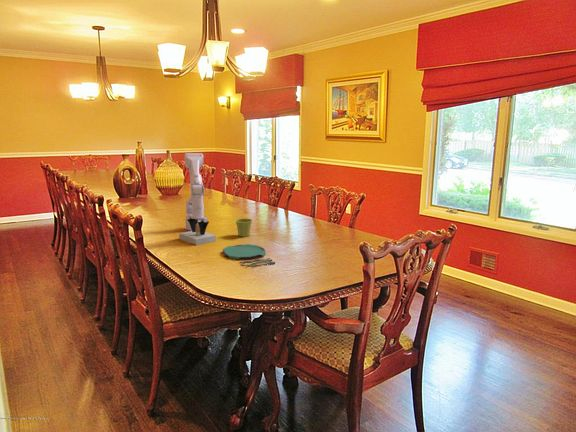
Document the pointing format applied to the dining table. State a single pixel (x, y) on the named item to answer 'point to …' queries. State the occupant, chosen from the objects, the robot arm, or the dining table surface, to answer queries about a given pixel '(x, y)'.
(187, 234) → the hole board
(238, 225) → the plant pot
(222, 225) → the dining table surface
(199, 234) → the dowel
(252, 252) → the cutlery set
